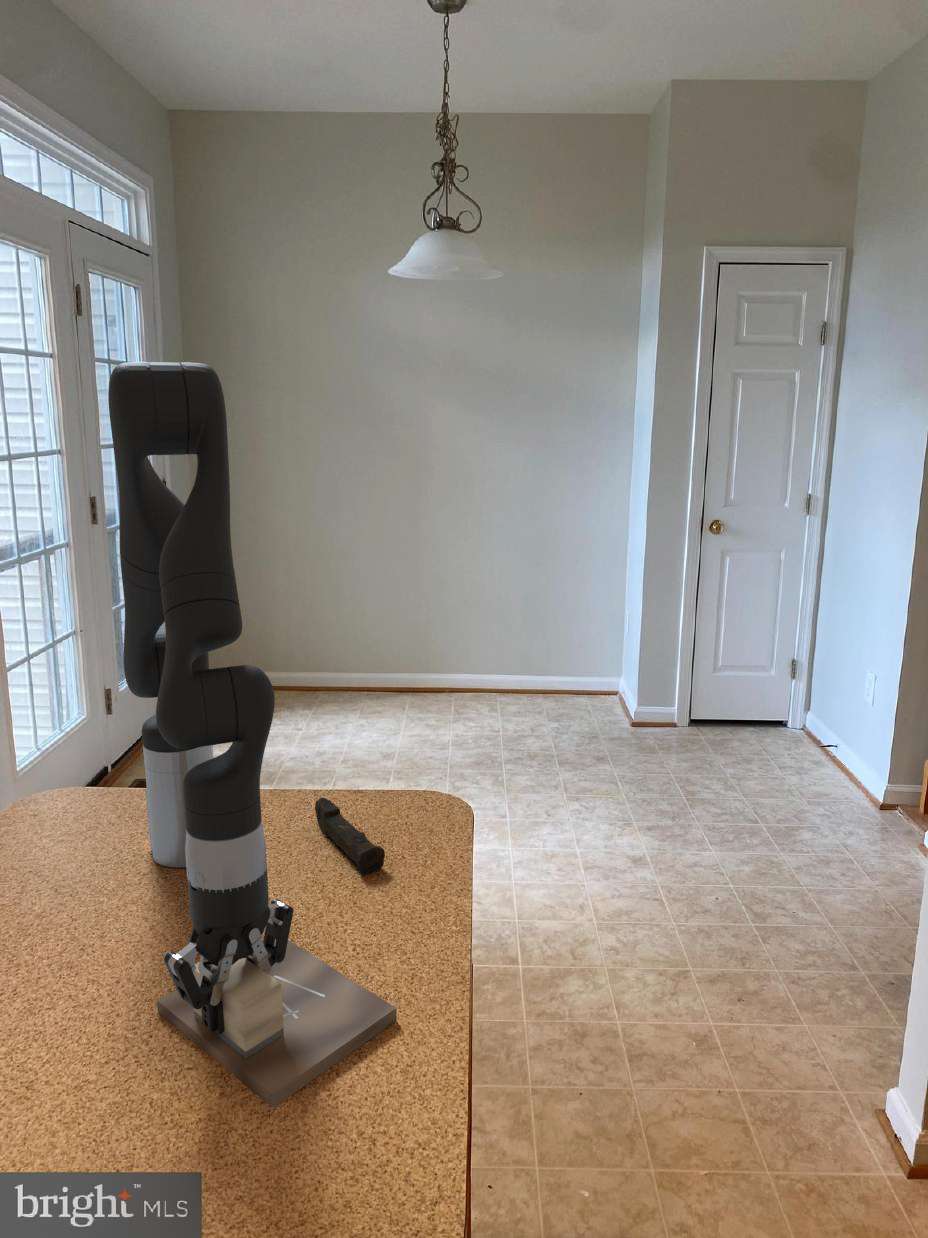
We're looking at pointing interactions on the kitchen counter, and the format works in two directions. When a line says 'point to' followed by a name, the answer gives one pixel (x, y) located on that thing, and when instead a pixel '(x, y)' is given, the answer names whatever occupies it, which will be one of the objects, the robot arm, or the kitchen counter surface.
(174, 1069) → the kitchen counter surface
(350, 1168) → the kitchen counter surface
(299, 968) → the walnut board
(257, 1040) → the block
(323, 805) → the hand tool
